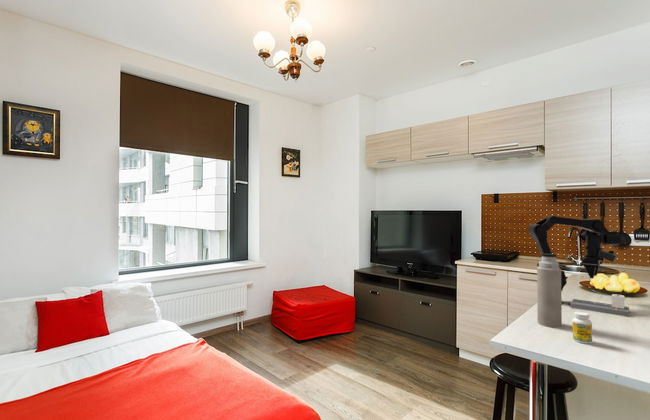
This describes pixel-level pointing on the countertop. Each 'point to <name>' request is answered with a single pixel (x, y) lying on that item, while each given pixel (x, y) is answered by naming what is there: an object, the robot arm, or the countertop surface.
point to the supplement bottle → (582, 328)
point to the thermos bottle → (549, 292)
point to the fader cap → (618, 301)
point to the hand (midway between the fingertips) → (593, 276)
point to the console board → (599, 307)
